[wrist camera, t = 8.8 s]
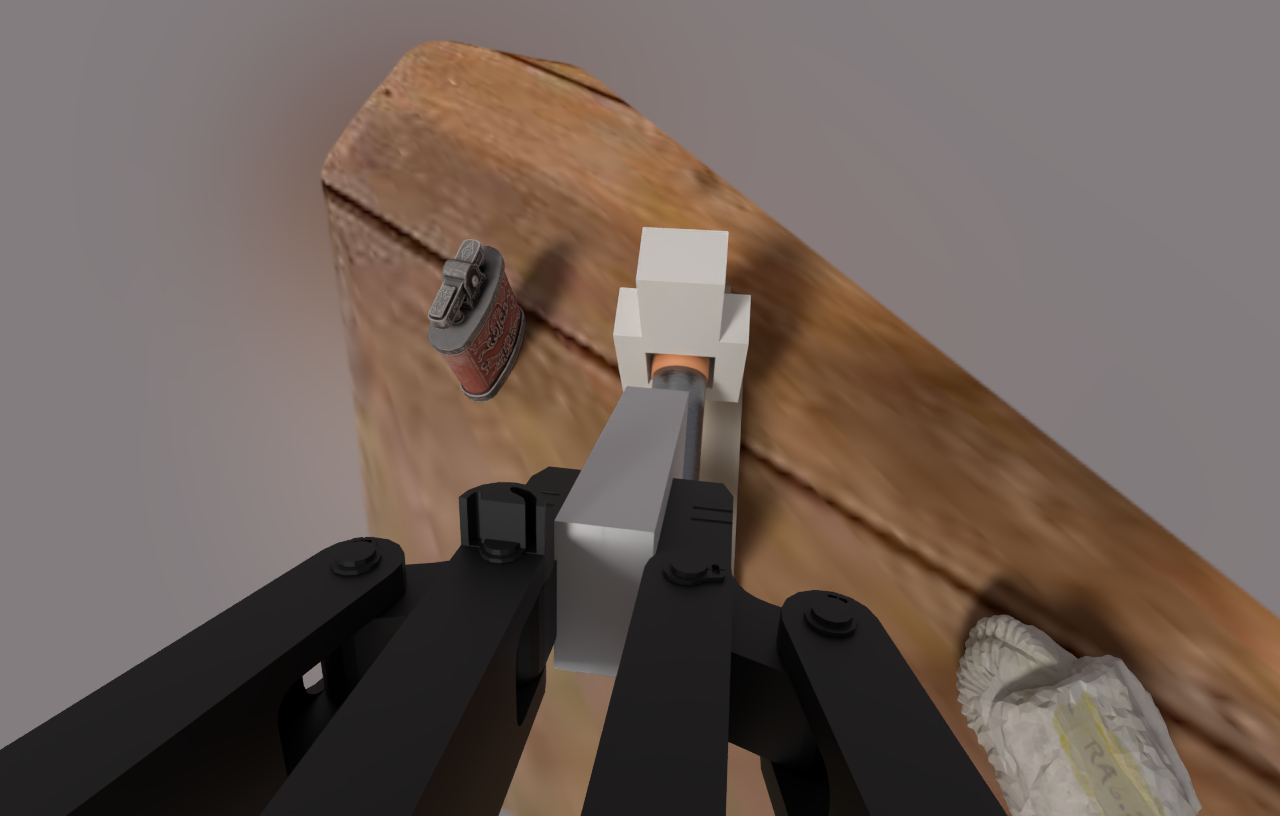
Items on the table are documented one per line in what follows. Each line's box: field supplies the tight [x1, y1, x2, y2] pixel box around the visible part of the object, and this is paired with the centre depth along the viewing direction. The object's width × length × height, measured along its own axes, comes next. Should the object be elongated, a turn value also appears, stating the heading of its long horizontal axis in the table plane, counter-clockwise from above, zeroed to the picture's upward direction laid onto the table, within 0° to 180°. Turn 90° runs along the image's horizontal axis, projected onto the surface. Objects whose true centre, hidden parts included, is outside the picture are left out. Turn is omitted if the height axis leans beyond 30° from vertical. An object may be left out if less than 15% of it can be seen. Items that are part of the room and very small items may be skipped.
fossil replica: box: [956, 614, 1202, 816], centre depth 33 cm, size 12×8×10 cm
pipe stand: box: [651, 285, 743, 577], centre depth 39 cm, size 18×8×11 cm, turn 174°
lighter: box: [428, 239, 526, 402], centre depth 45 cm, size 8×3×10 cm, turn 164°
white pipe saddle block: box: [613, 227, 751, 403], centre depth 36 cm, size 3×7×12 cm, turn 84°
